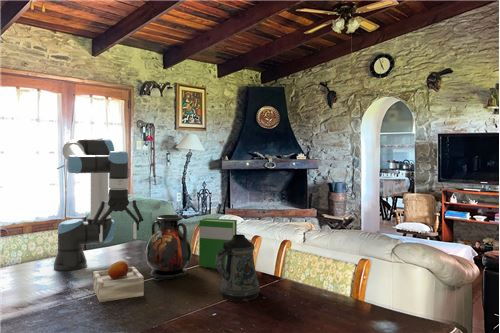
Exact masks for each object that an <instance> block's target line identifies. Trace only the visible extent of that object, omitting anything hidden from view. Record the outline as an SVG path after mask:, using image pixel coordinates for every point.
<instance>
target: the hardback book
mask: <svg viewBox="0 0 500 333" xmlns="http://www.w3.org/2000/svg"><path fill="white" fill-rule="evenodd" d="M237 222H238V220H237V219H230V218H227V219H226V218H225V219H224V218H210V217H204V218H201V219H199V228H198V230H199V233H198V234H199V235H198V236H199V242H198V246H199V247H198V267H199V266H205V267H204V268H206V267H214V268H213V269H217V267H216V256H217V254H218V252H219V251H220V250H221V249H223V243H224V242H227V241H230V240H231V239H232V238H233V235H236V234H237V233H238V232H237V228H238V227H237V226H238V223H237ZM225 260H226V256H225V257H224V260H223V266H225Z"/></svg>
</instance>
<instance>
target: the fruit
mask: <svg viewBox="0 0 500 333" xmlns="http://www.w3.org/2000/svg"><path fill="white" fill-rule="evenodd" d="M128 267H129V265H128V263H127V262H126V261H123V260H118V261H116V262H114V263H112V264H110V266H109V268H108V270H109V271H108V275H109V276H110V277H111V278H112V279H122V278H123V277H125V276H127V273H128ZM127 277H128V276H127Z"/></svg>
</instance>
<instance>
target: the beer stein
mask: <svg viewBox="0 0 500 333" xmlns="http://www.w3.org/2000/svg"><path fill="white" fill-rule="evenodd" d="M255 247H256V246H255V245H254V243H252V242H251V241H250V240H249V239H248V238H247V237H246V235H245V234H240V233H238V234H236V235H233V238H232V239H231V240H230V241H227V242H224V243H223V249H221V250H220V251H219V252H218V254H217V256H216V267H217V268H216V269H217V271H218V272H219V275H220V276H221V277H222V281H221V284H220V285H219V291H220V296H222V297H221V298H222V299H225V300H226V299H227V301H229V300H232V301H231V302H235V301H246V302H248V301H247V300H251V299H254V298H256V297H257V296H258V297H259V292H260V289H261V288H260V284H259V280H258V276H257V273H256V271H257V270H256V265H255V258H254V251H255ZM225 256H226V260H225V266H223V260H224V257H225ZM258 297H257V298H258ZM257 298H256V299H257ZM254 300H255V299H254ZM251 301H252V300H251Z"/></svg>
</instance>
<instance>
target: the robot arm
mask: <svg viewBox="0 0 500 333" xmlns="http://www.w3.org/2000/svg"><path fill="white" fill-rule="evenodd" d="M61 153H62V155H63V157H64V158H65V159H66V169H67V172H68V173H70V174H77V175H78V174H90V214H89V215H88V216H87V218H86V219H87V221H84V219H82V218H73V219H67V220H64V221H62V222H60V223H59V224H58V226H57V253H56V256H55V260H54V262H53V270H56V271H76V270H80V269H83V268H86V267H87V266H88V265H87V264H88V263H87V258H86V255H85V252H84V246H85V245H95V244H97V245H98V244H105V243H109V242H110V243H111V242H112V240H113V238H114V236H115V231H116V229H115V228H116V225H115V224H116V222H115V220H114V219H112V216H111V213H113V212H115V213H116V212H124V211H125V212H126V213H127V215H129V216H130V217H131V219H133V221H134V222H133V227H132V239H134V240H136V239H138V238H137V237H138V236H137V231H139V230H140V223H142V222H144V218H143V215H142V214H141V212H140V210H139V208H138V205H137V200H135V199H131V200H129V190H128V188H129V161H130V160H129V153H128V151H123V150H122V151H115V145H114V143H113V141H112V140H111V139H109V138H93V137H92V138H91V137H89V138H87V137H86V138H85V137H80V138H79V137H78V138H73V139H71V140H68V141H67V142H66V143H65V144H64V145H63V147H62V152H61ZM129 204H130V205H131V206H132V207H133V210H134V212H135V214H136V216H137V217H138V218H137V217H136V216H135V215H134V213H132V211H131V210H130V209H129V208H128V206H129Z"/></svg>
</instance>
